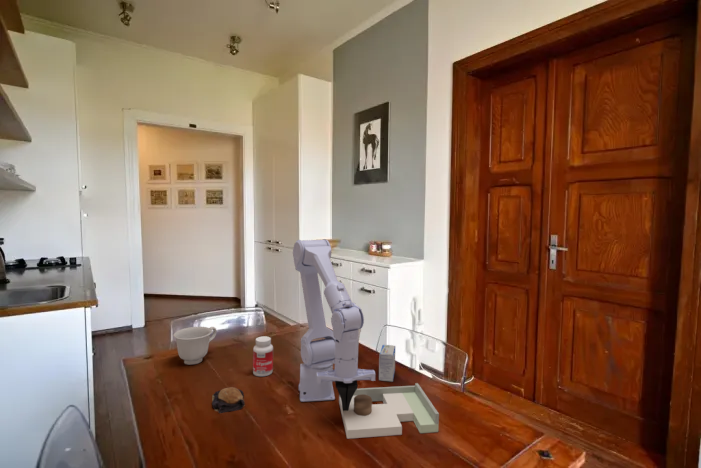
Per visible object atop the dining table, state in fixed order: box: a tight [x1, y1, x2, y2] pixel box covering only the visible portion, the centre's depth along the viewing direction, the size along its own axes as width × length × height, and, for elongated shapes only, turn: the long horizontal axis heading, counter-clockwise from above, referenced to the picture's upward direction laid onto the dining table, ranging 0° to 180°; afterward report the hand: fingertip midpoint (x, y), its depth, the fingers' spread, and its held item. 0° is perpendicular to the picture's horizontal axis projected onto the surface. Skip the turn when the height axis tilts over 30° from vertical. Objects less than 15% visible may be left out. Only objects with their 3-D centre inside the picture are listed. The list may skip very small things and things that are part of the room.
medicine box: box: [378, 344, 396, 383], centre depth 113 cm, size 8×4×9 cm, turn 168°
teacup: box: [173, 326, 217, 366], centre depth 121 cm, size 12×15×10 cm
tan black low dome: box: [211, 386, 246, 414], centre depth 96 cm, size 11×8×4 cm
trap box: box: [338, 382, 440, 439], centre depth 91 cm, size 22×16×4 cm
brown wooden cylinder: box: [354, 395, 373, 416], centre depth 90 cm, size 4×4×3 cm
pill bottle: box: [252, 335, 274, 377], centre depth 113 cm, size 6×6×11 cm
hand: (345, 408), depth 89 cm, fingers closed
